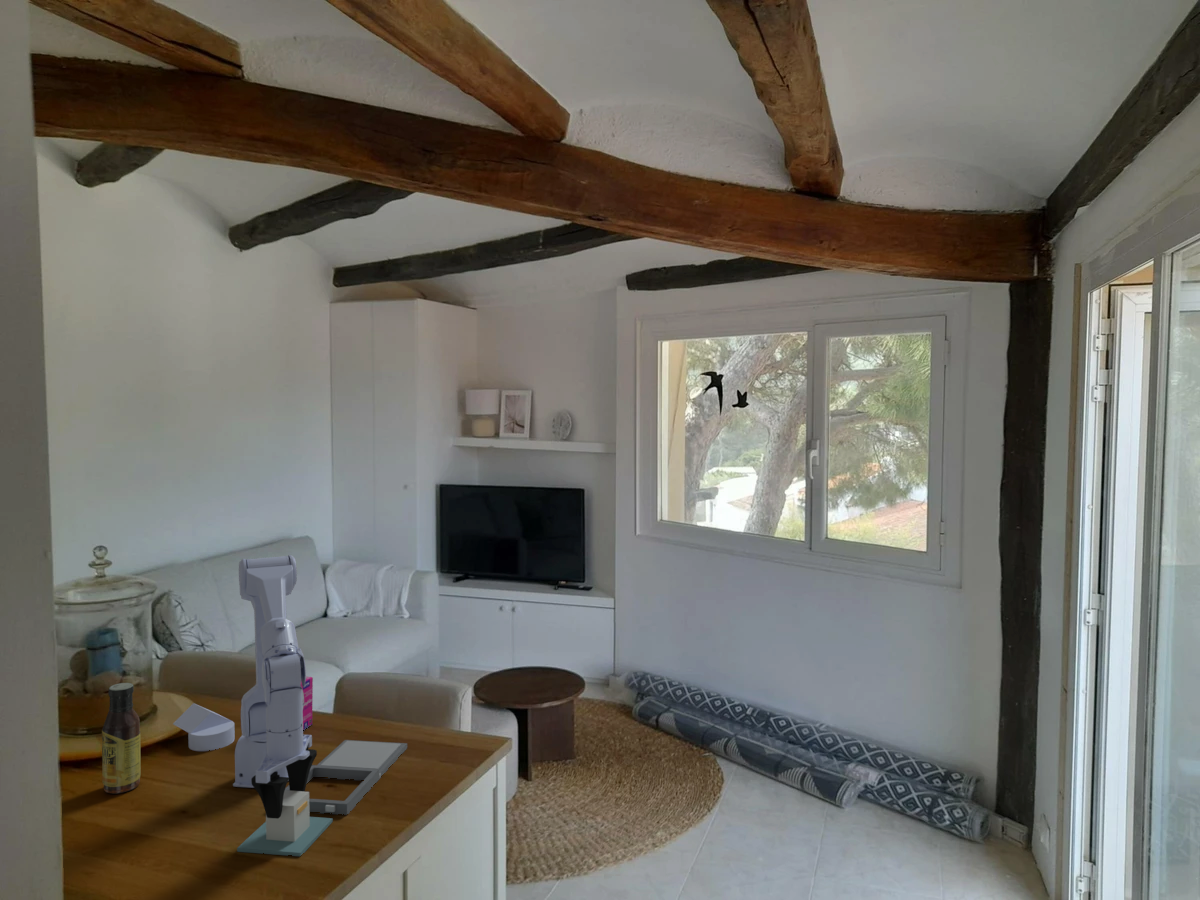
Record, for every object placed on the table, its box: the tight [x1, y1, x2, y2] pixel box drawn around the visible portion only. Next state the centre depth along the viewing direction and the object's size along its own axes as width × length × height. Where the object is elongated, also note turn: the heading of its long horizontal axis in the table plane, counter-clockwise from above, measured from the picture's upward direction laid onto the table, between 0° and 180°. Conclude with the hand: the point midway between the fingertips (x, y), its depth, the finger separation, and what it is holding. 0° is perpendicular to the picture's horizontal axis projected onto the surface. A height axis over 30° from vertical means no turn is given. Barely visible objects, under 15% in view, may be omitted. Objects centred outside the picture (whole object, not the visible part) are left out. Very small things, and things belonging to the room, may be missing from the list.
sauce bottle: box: [101, 682, 142, 795], centre depth 150 cm, size 6×6×20 cm
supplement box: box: [301, 676, 314, 731], centre depth 178 cm, size 6×6×12 cm
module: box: [265, 790, 311, 842], centre depth 133 cm, size 5×5×6 cm
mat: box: [236, 816, 334, 857], centre depth 133 cm, size 11×11×1 cm
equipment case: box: [285, 739, 408, 816], centre depth 155 cm, size 14×29×2 cm, turn 172°
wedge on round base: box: [172, 702, 236, 752], centre depth 173 cm, size 9×7×13 cm
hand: (286, 805), depth 133 cm, fingers open, 7 cm apart
